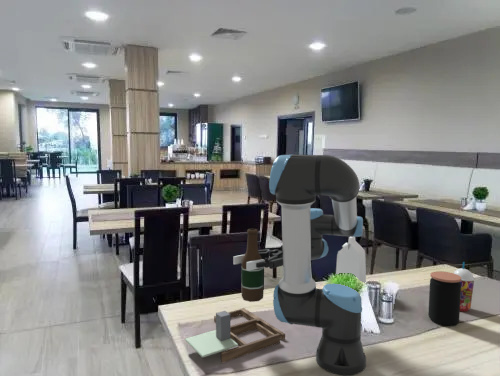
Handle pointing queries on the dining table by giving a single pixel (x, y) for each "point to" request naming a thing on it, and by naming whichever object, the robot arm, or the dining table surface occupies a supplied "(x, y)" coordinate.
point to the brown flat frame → (253, 323)
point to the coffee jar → (444, 298)
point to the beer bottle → (252, 271)
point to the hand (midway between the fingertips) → (240, 263)
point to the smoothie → (465, 288)
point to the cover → (214, 337)
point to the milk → (352, 260)
